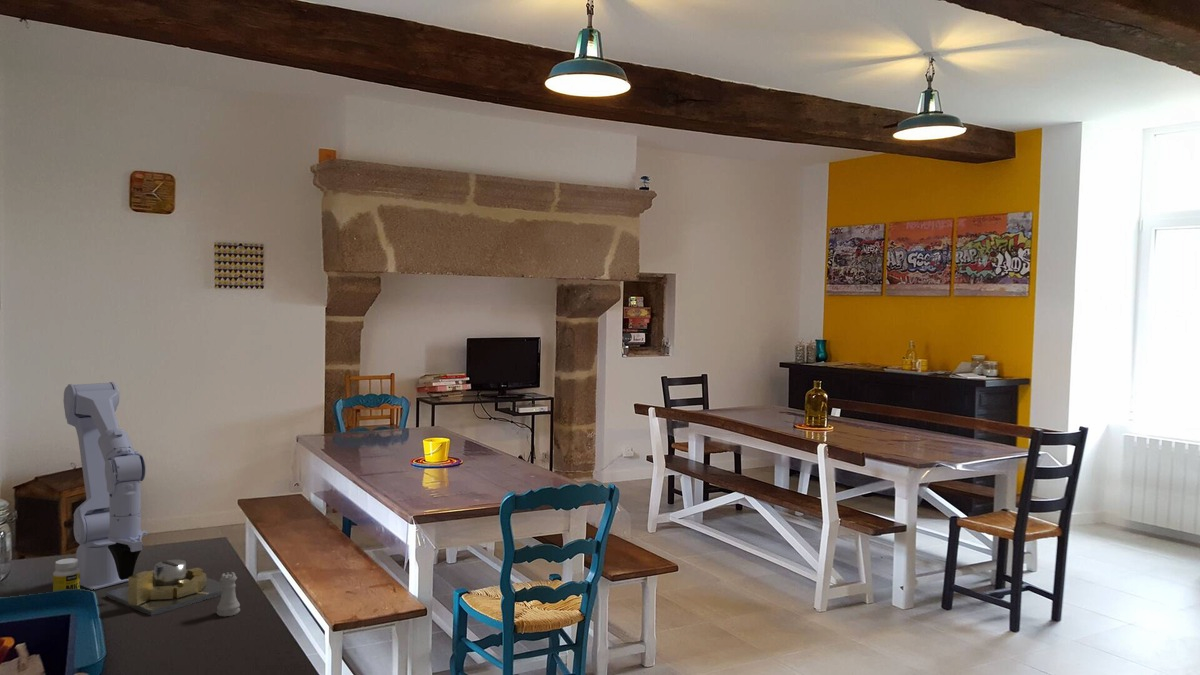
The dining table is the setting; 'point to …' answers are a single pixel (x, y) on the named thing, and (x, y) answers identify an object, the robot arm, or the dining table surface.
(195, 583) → the tan hexagonal frame
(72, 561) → the supplement bottle
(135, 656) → the dining table surface
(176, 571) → the flange plate
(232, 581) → the rook chess piece
